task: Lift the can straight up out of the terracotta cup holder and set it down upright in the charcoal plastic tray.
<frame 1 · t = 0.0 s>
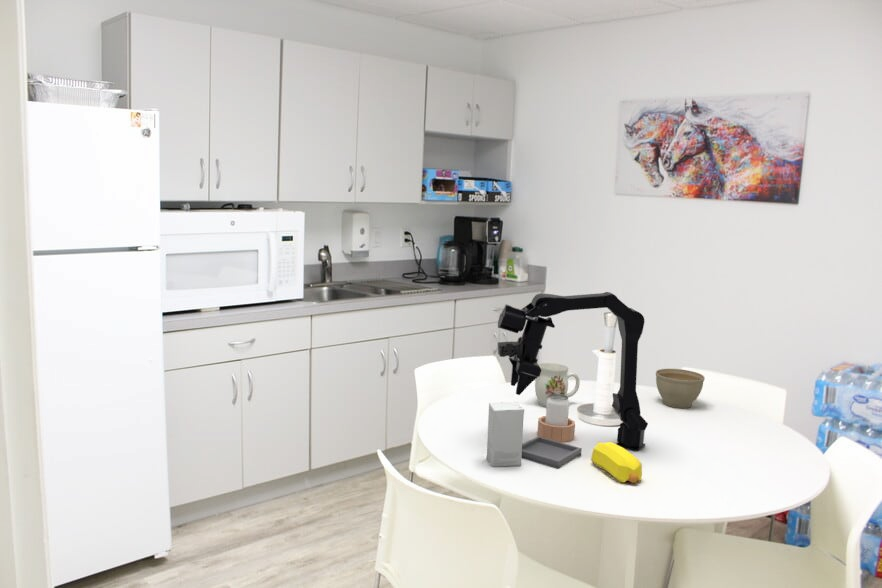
hand: (514, 389, 208), 15 cm above the table, tool pointing down, fingers open, 9 cm apart
can: (555, 436, 218), resting in cup holder
planter bowl: (676, 405, 258), on the table
tray: (547, 455, 202), on the table
pitcher: (552, 405, 250), on the table
toy duck: (615, 473, 192), on the table
cup holder: (555, 435, 218), on the table
skincare box: (503, 463, 195), on the table
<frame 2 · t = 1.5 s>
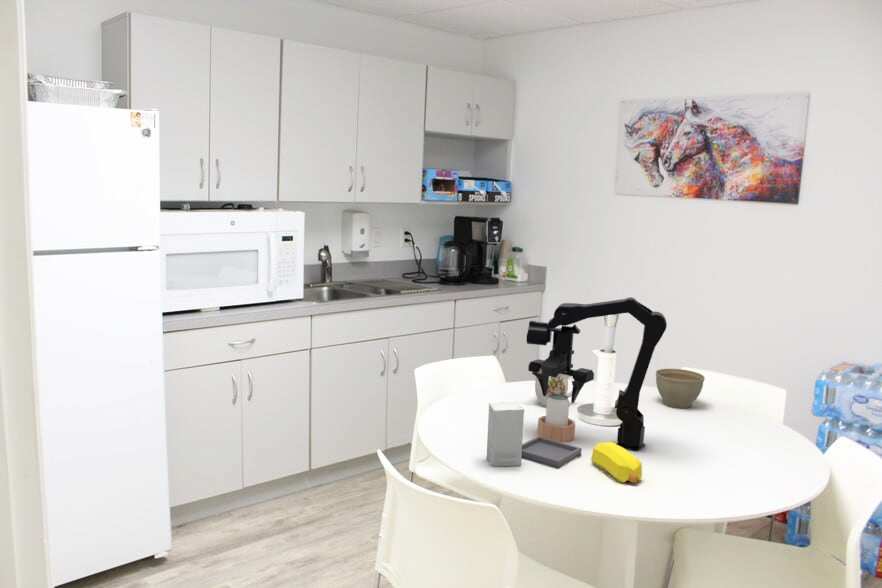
hand: (558, 399, 216), 11 cm above the table, tool pointing down, fingers open, 9 cm apart
nothing on the table moved.
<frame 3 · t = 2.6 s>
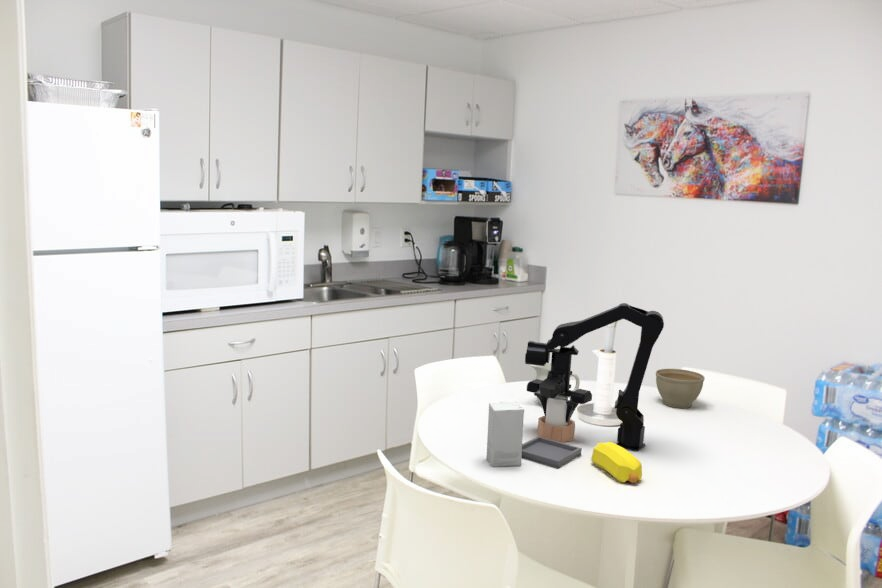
hand: (556, 419, 217), 5 cm above the table, tool pointing down, fingers closed on can, 6 cm apart
can: (555, 436, 218), resting in cup holder, touching gripper
everything else where it was.
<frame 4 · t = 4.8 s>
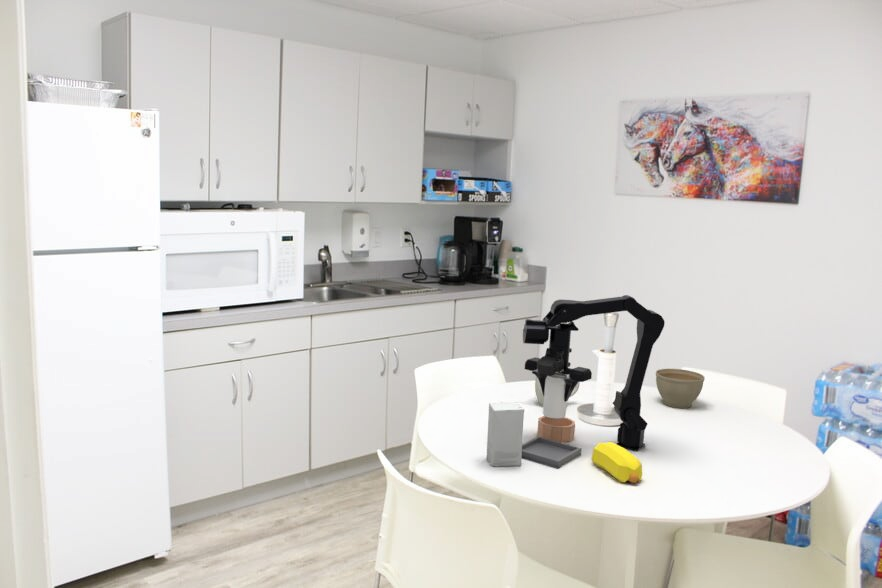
hand: (555, 398, 210), 13 cm above the table, tool pointing down, fingers closed on can, 6 cm apart
can: (554, 416, 211), point 8 cm above the table, touching gripper
everything else where it was.
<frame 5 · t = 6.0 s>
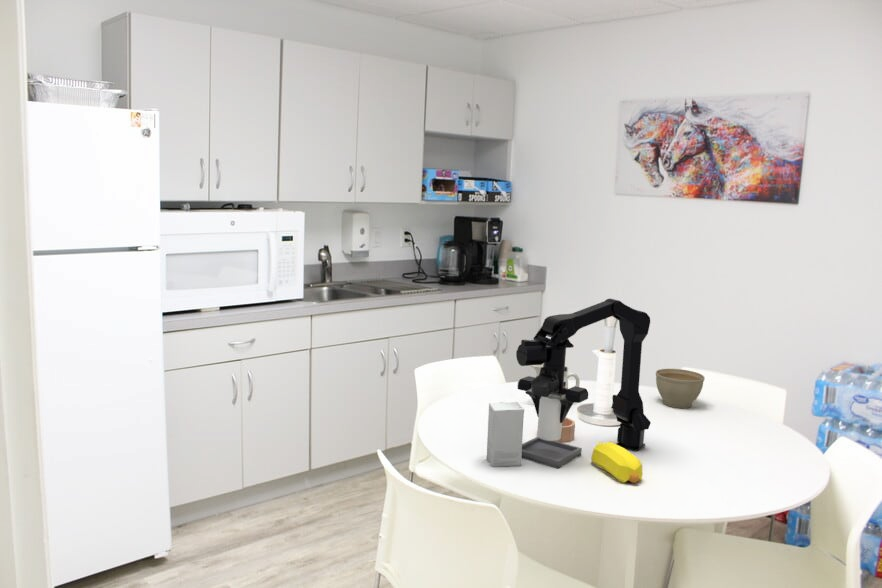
hand: (550, 419, 200), 10 cm above the table, tool pointing down, fingers closed on can, 6 cm apart
can: (549, 438, 201), point 5 cm above the table, touching gripper
everything else where it was.
when the fingers open (7 cm above the table, at t = 6.9 s): can drops 1 cm, resting on tray.
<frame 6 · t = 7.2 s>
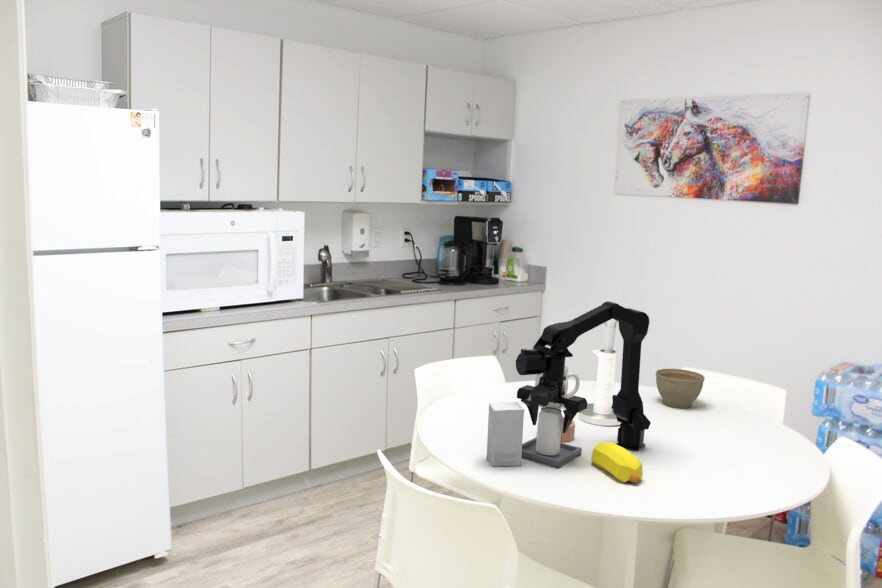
hand: (549, 428, 201), 7 cm above the table, tool pointing down, fingers open, 9 cm apart
can: (547, 453, 202), point 1 cm above the table, touching tray
everything else where it was.
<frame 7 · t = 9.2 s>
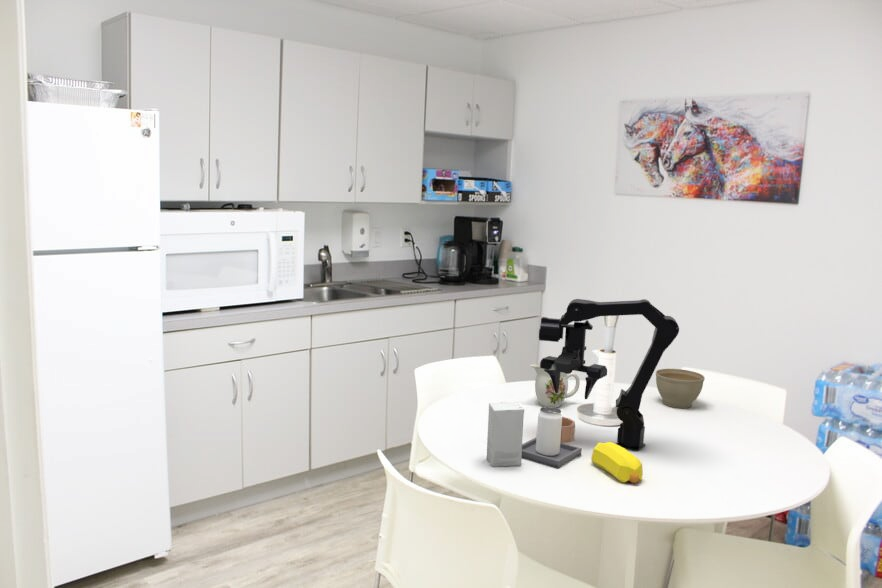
hand: (571, 395, 215), 13 cm above the table, tool pointing down, fingers open, 9 cm apart
nothing on the table moved.
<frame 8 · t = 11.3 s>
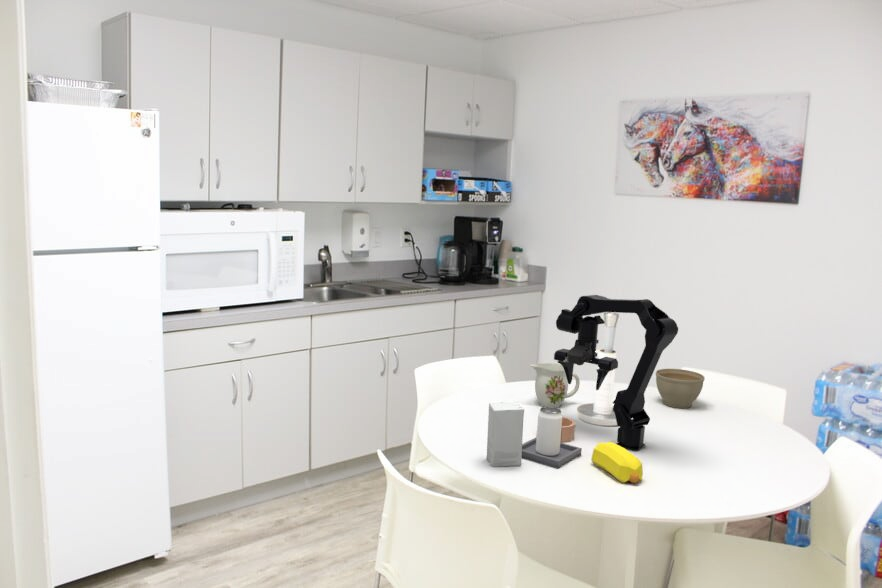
hand: (583, 387, 225), 13 cm above the table, tool pointing down, fingers open, 9 cm apart
nothing on the table moved.
at the end: can inside the target area on the tray (0.0 cm from its centre), point 0.6 cm above the tray's base; can tilted 0°; the gripper is holding nothing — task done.
